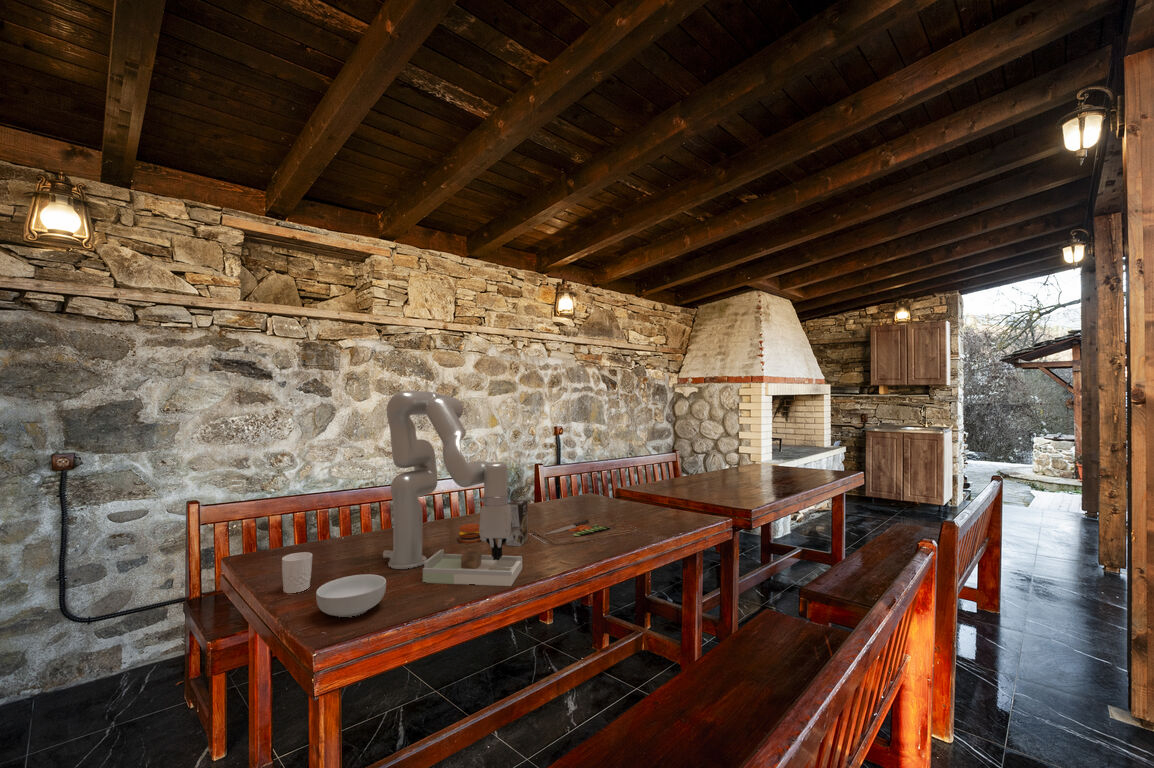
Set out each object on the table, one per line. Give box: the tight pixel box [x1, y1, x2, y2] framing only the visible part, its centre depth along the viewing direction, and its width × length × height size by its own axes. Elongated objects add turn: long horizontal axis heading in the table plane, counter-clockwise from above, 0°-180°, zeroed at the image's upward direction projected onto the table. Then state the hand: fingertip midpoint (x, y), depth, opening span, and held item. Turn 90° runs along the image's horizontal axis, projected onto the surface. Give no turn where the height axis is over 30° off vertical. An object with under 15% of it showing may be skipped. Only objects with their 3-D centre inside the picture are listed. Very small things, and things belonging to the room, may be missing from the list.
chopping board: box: [528, 518, 638, 546], centre depth 205 cm, size 45×27×3 cm, turn 119°
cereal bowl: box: [315, 573, 387, 618], centre depth 127 cm, size 17×17×7 cm
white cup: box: [281, 551, 313, 593], centre depth 142 cm, size 8×8×10 cm
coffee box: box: [505, 499, 529, 547], centre depth 189 cm, size 9×6×16 cm
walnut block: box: [461, 550, 482, 569], centre depth 153 cm, size 5×5×4 cm
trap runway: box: [422, 549, 523, 587], centre depth 153 cm, size 28×15×6 cm, turn 83°
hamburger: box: [458, 522, 481, 544], centre depth 193 cm, size 9×10×7 cm
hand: (497, 558), depth 152 cm, fingers closed
